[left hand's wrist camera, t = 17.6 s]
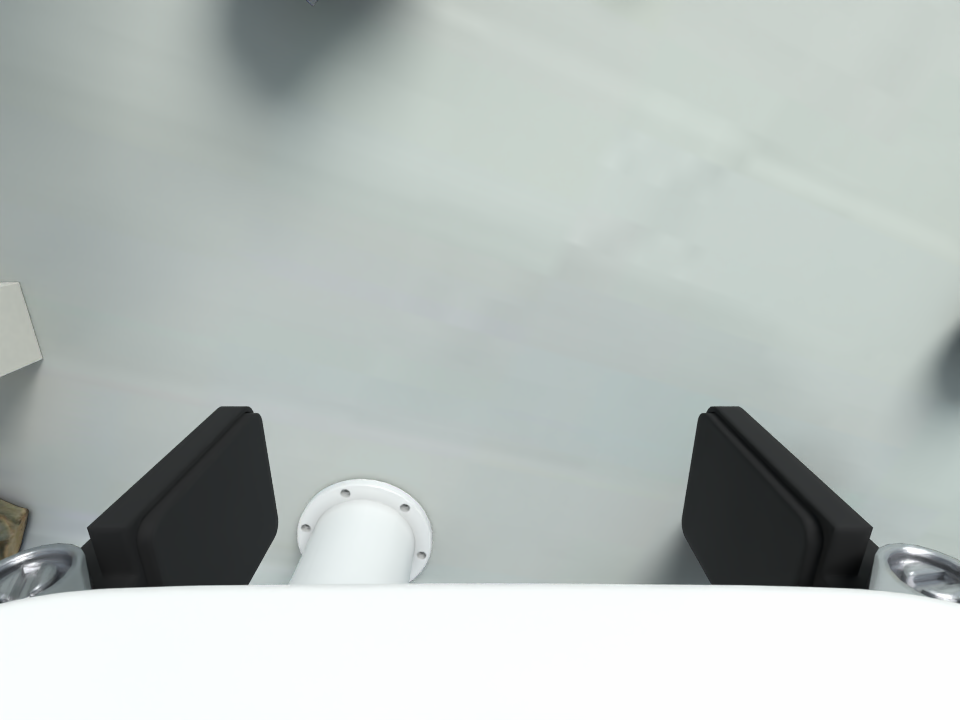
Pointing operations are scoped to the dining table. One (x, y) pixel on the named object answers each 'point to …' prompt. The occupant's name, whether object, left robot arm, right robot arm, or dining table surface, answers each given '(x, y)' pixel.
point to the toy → (312, 2)
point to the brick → (15, 331)
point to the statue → (11, 528)
